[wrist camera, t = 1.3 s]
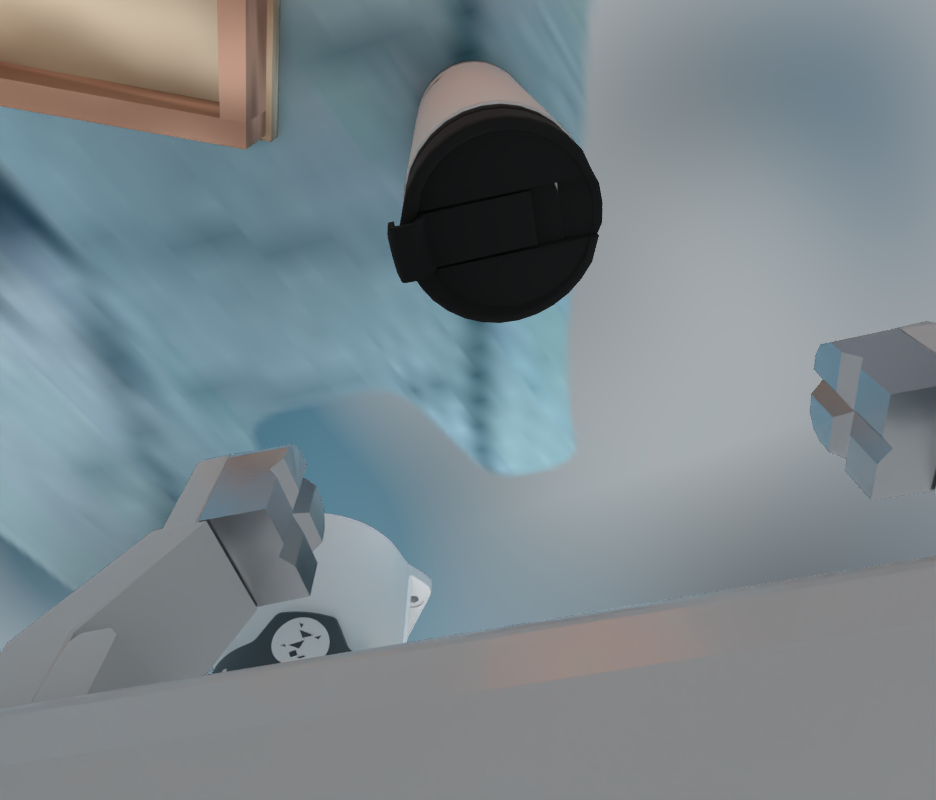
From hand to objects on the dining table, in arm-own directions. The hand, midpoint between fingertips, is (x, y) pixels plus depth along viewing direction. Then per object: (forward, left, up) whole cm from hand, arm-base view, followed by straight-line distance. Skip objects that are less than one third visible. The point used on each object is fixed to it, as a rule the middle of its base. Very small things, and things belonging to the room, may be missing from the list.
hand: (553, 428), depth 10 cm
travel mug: (0, 0, -30) cm, 30 cm away
